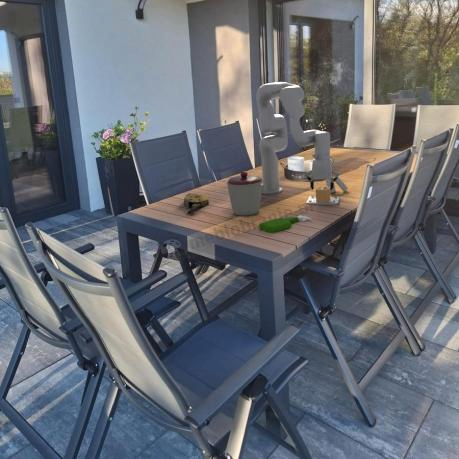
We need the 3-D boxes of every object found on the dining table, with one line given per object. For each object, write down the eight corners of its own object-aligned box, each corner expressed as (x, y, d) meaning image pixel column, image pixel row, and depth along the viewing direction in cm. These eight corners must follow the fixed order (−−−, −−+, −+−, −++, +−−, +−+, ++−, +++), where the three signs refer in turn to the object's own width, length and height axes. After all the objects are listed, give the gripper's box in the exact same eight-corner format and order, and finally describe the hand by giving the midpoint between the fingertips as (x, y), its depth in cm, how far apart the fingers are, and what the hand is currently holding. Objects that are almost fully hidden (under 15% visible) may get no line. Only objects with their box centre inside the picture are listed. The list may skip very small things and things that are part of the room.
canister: (253, 220, 232) (250, 176, 225) (221, 216, 241) (218, 174, 235) (270, 209, 246) (268, 168, 240) (240, 206, 256) (237, 167, 249)
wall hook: (348, 192, 265) (344, 174, 262) (330, 197, 268) (325, 179, 265) (348, 188, 272) (344, 171, 270) (330, 193, 275) (325, 176, 273)
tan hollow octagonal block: (315, 201, 251) (315, 189, 249) (317, 197, 258) (317, 186, 256) (329, 201, 249) (329, 189, 247) (330, 197, 255) (330, 186, 253)
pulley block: (178, 203, 246) (185, 189, 274) (177, 214, 247) (185, 199, 276) (206, 206, 245) (210, 192, 274) (205, 217, 247) (210, 202, 276)
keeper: (305, 204, 251) (305, 191, 248) (309, 198, 261) (309, 185, 259) (337, 204, 246) (337, 191, 244) (340, 198, 257) (340, 185, 254)
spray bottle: (257, 229, 220) (298, 217, 233) (272, 234, 211) (314, 222, 224) (256, 222, 219) (298, 211, 232) (272, 228, 210) (314, 216, 223)
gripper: (303, 157, 246) (304, 190, 251) (339, 158, 240) (338, 191, 246) (306, 154, 252) (306, 187, 258) (340, 155, 247) (339, 187, 253)
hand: (321, 189), depth 252 cm, fingers open, 9 cm apart
